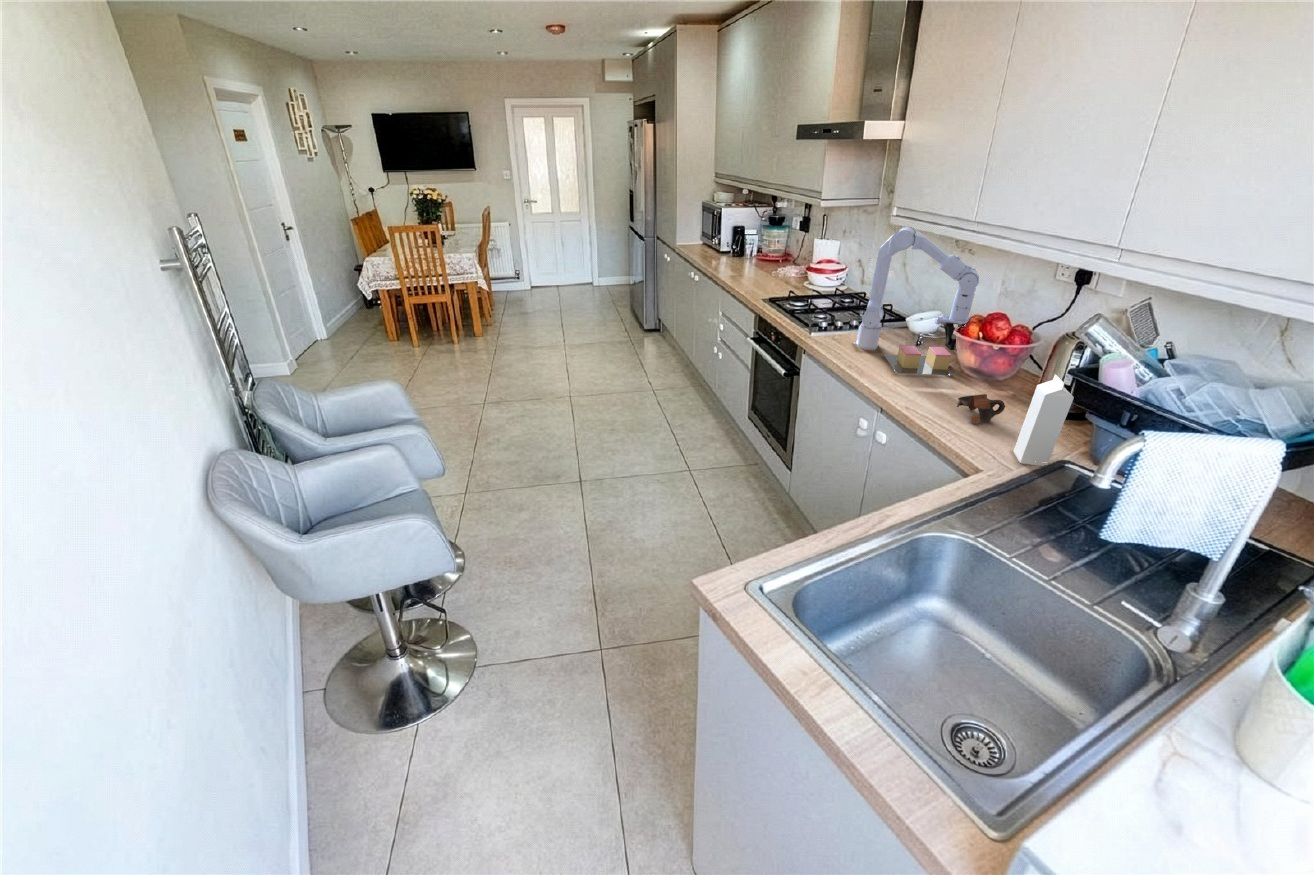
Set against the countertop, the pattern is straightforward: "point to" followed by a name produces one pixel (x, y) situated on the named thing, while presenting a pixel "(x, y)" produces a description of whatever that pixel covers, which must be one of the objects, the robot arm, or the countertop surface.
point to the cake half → (908, 357)
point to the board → (922, 368)
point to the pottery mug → (981, 407)
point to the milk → (1043, 422)
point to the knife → (952, 344)
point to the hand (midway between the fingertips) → (951, 344)
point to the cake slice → (938, 358)
